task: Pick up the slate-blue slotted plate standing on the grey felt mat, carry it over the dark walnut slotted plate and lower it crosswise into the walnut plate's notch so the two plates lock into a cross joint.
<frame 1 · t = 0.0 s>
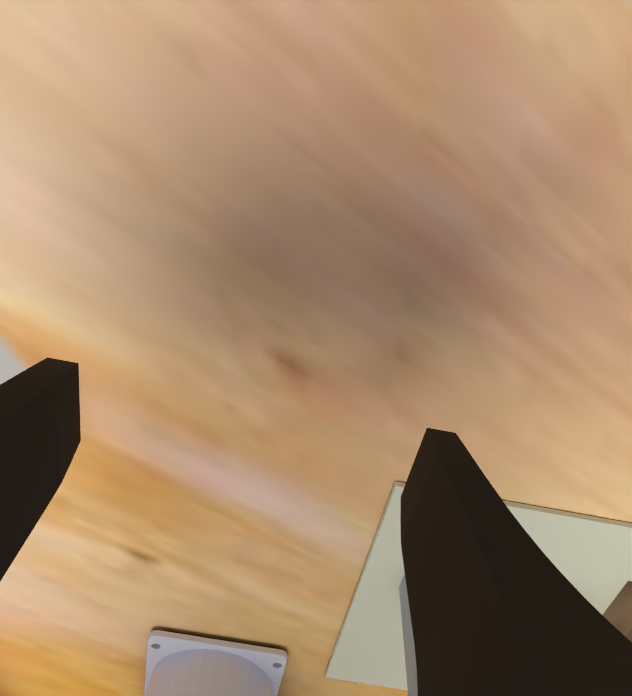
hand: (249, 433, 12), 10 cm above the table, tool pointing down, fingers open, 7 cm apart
blue slotted plate: (479, 590, 29), resting on felt mat
felt mat: (529, 618, 31), on the table
walnut slotted plate: (594, 646, 31), resting on felt mat
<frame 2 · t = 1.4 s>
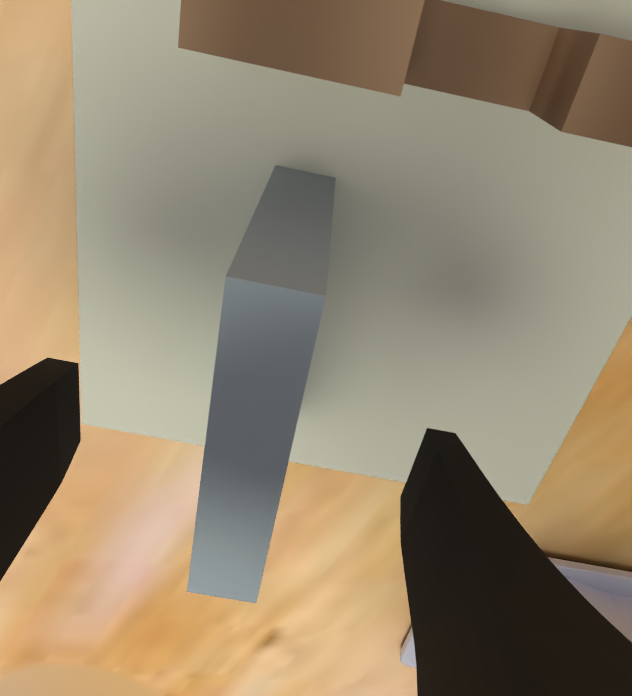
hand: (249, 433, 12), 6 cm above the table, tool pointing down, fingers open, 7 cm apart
blue slotted plate: (281, 305, 17), resting on felt mat
felt mat: (375, 202, 16), on the table
walnut slotted plate: (459, 48, 13), resting on felt mat
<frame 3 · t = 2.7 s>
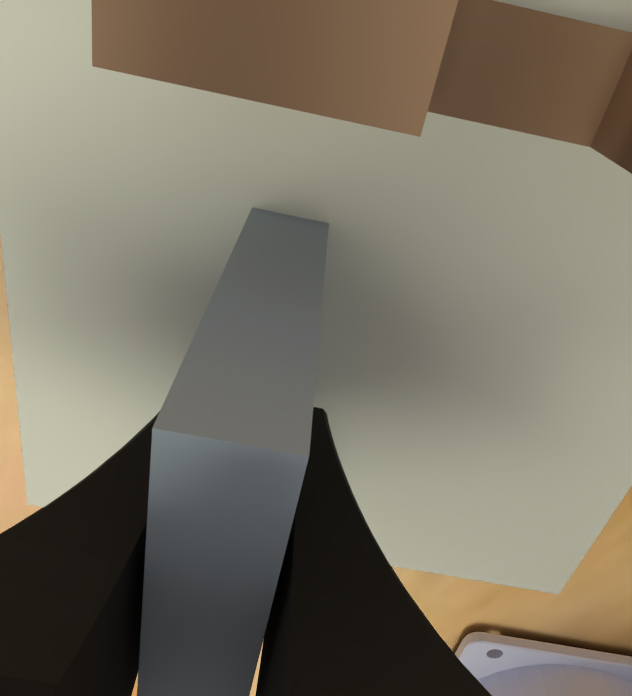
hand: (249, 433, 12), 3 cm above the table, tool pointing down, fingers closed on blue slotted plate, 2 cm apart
blue slotted plate: (262, 374, 14), resting on felt mat, touching gripper
felt mat: (379, 251, 12), on the table
walnut slotted plate: (492, 59, 10), resting on felt mat
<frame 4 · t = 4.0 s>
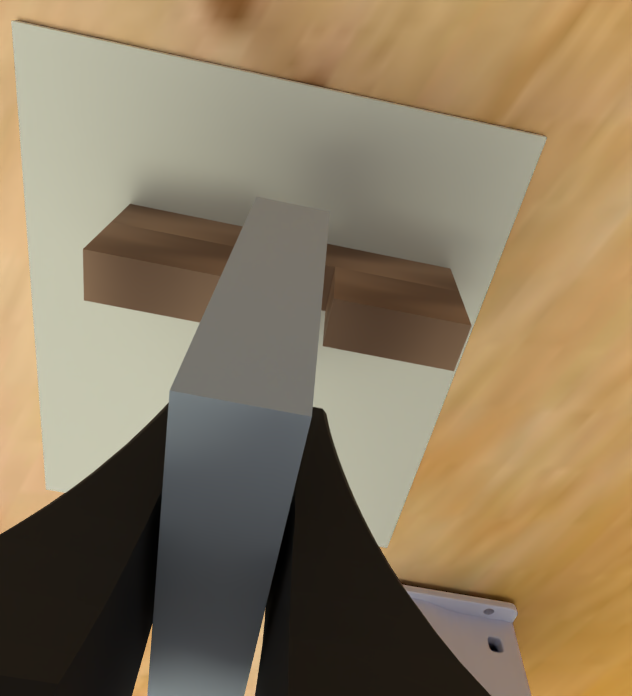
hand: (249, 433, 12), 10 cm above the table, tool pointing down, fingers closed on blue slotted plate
blue slotted plate: (266, 357, 14), point 7 cm above the table, touching gripper
felt mat: (246, 345, 22), on the table
walnut slotted plate: (289, 258, 20), resting on felt mat
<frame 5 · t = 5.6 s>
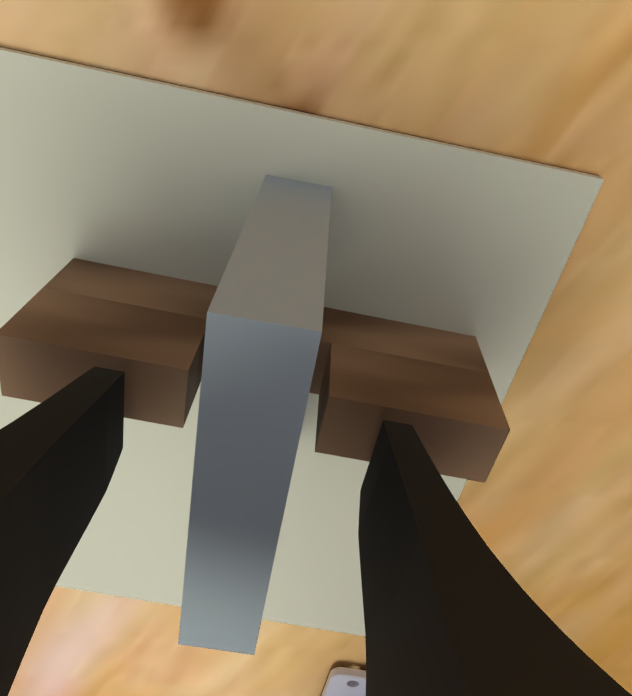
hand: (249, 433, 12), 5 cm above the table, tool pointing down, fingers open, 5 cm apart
blue slotted plate: (276, 323, 16), resting on felt mat
felt mat: (224, 420, 18), on the table
walnut slotted plate: (274, 323, 16), resting on felt mat
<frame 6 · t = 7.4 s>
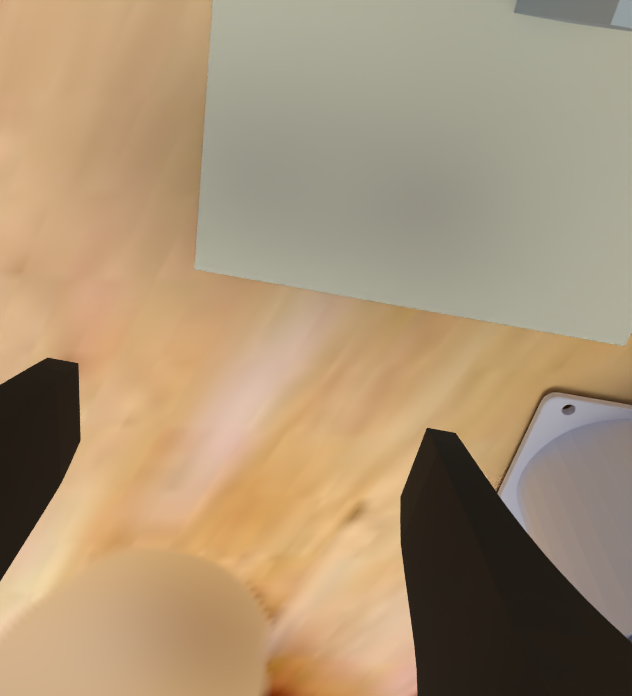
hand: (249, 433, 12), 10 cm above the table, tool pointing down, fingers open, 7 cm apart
felt mat: (499, 10, 16), on the table
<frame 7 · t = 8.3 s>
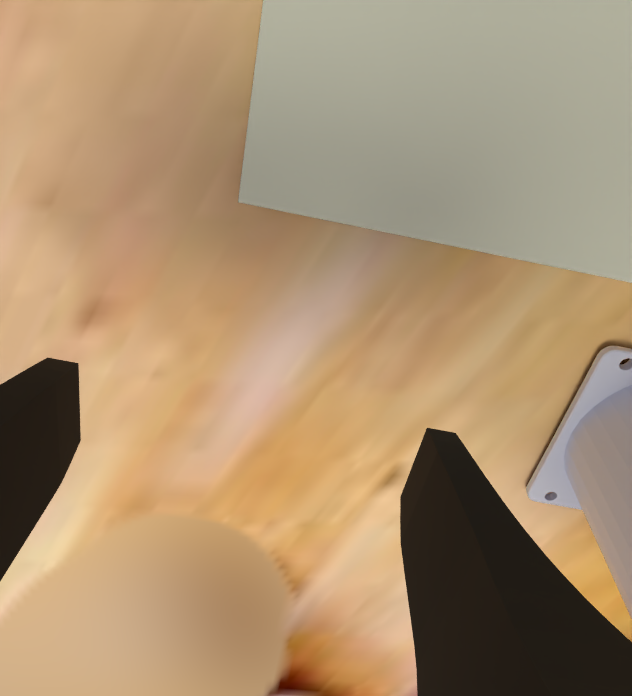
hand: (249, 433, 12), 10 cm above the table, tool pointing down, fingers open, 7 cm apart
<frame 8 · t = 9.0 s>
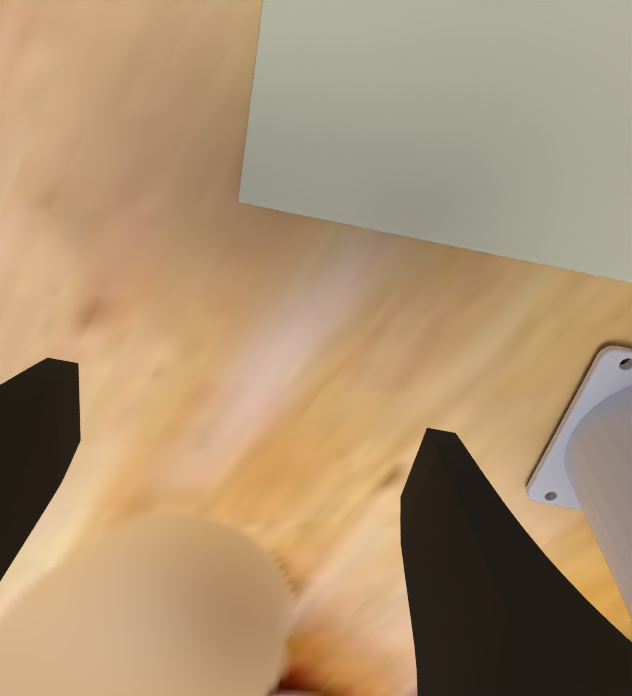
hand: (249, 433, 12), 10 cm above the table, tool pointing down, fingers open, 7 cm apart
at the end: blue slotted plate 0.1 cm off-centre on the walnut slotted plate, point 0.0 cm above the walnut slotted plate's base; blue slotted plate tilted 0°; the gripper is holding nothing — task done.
